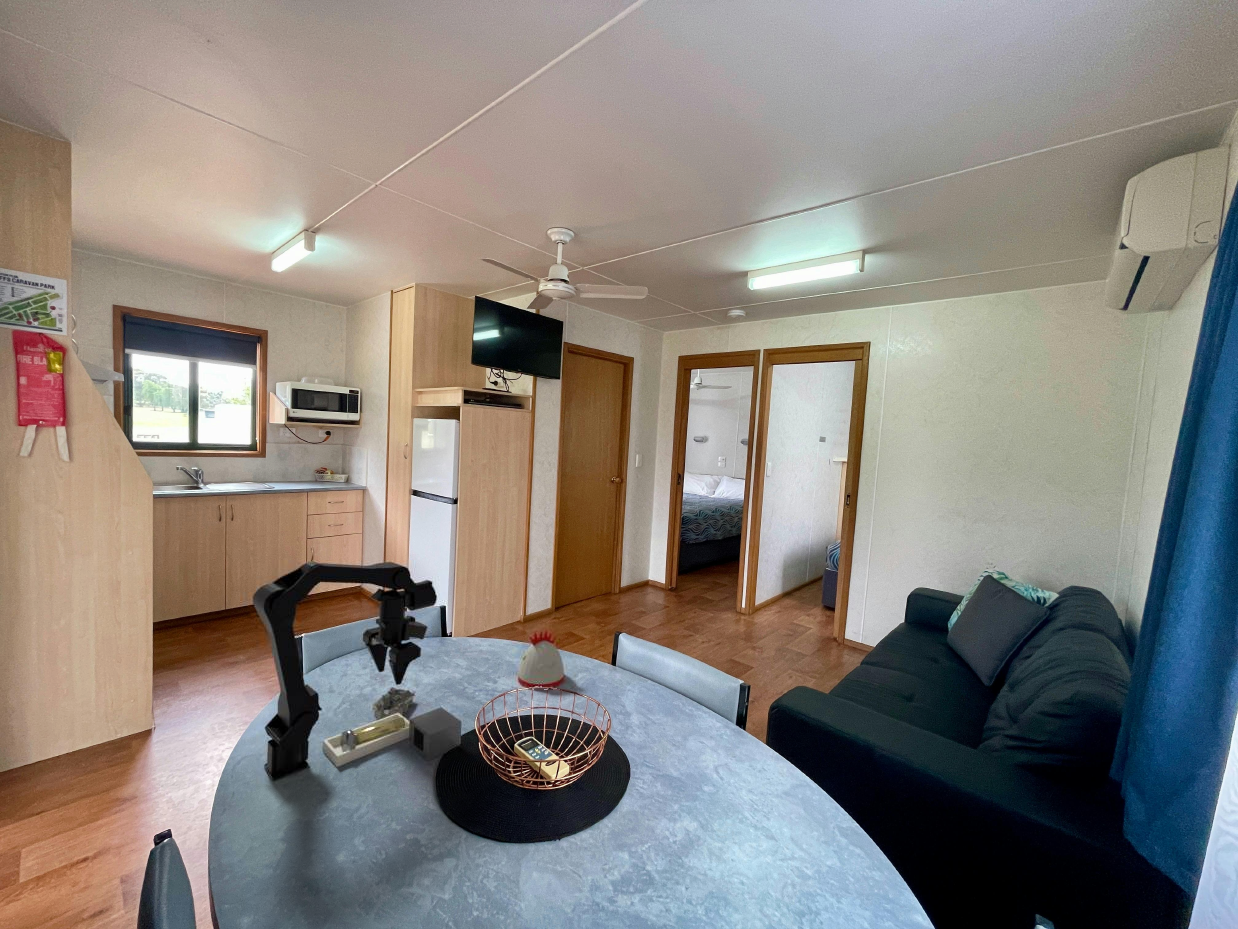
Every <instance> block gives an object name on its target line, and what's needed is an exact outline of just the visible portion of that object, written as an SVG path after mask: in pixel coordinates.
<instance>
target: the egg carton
mask: <svg viewBox="0 0 1238 929" xmlns="http://www.w3.org/2000/svg"><path fill="white" fill-rule="evenodd" d="M415 696H416V691H413V692H411V691H410V690H409V689H407V690H406V689H402V688H395V687H392V686H391V687H390V688H389V690H388V691H387V692H386V693H385V694H382V696H381V697H380V698H379V699H378V700H377V701H376V702H374V703H373V705H372V710H373V711H374V717H375V718H376V720H380V719H383V718H385V717H388V716H391V715H393V714H396V713H399V714H401V715H402V716H403V714H404V713H405V712H407V711H408V708H409V706H412V705H414V697H415ZM391 702H392V708H390V709H384V708H389V706H390V703H391Z"/></svg>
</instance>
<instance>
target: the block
mask: <svg viewBox="0 0 1238 929" xmlns="http://www.w3.org/2000/svg"><path fill="white" fill-rule="evenodd" d="M408 721H409V737H408V745H409V746H410V747H411V748H413V749H414V750H415V751H416V752H417V753H419V754H420V755H421V756H422V757H423V758H424V759H426V760H427V761H428V762H429V761H431V760H433V759H435V758H438V757H439V756H442V755H444V754H446V753H448V751H449V750H451V749H452V748H455V747H456V746H459V745H460V744H462V742H461V741H462V724H463V723H462V720H460V719H459V718H457V717H456V716H454V715H453V714H452V713H450V712H449V711H448V710H446V709H445V708H443V707H441V706H440V707H438V708H436V709H433V710H430V711H428V712H425V713H422V714H420V715H417V716H414V717H412V718H409V720H408ZM459 747H460V746H459ZM455 749H456V748H455ZM451 751H452V750H451ZM449 752H450V751H449Z"/></svg>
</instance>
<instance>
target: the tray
mask: <svg viewBox="0 0 1238 929" xmlns="http://www.w3.org/2000/svg"><path fill="white" fill-rule="evenodd" d="M401 717H402V718H404V720H405V728H404V729H401V730H399V731H396V732H394V733H391V734H389V735H386V736H384V737H381V738H378V739H375V740H372V741H369V742H367V743H364V744H361V745H358V746H356V747H355V748H353V749H351V750H348V751H346V752H343V751H342V748H341V735H342V733H339V734H337V735H334V736H332V737H329V738H326V739H323V740H322V752H324V754H325V755H326V756H327V758H329V760H330V761H331V762H332V763H333V764H334V765H335V766H336V767H337V768H339V767H340V766H342V765H345V764H347V763H351V762H352V761H355V760H357V759H360V758H362V757H365V756H367V755H369V754H371V753H375V752H377V751H380V750H381V749H384V748H386V747H389V746H391V745H393V744H397V743H398V742H400V741H403V740H405V739H409V721H410V720H408V719H407V718H406V717H405V716H403V714H402V715H401V714H399V713H396V714H393V715H391V716H388V717H385V718H383V719H380V720H378V719H376V720H375V721H371V722H370V723H366V724H364V725H361V726H358V727H356V728H352V729H351V730H352V731H353V732H354V733H355V732H358V731H361V730H364V729H367V728H371V727H374V726H377V725H380V724H383V723H386V722H389V721H392V720H395V719H398V718H401Z"/></svg>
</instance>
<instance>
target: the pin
mask: <svg viewBox="0 0 1238 929" xmlns="http://www.w3.org/2000/svg"><path fill="white" fill-rule="evenodd" d="M404 718H405V717H404ZM404 718H402V717H401V718H398V719H395V720H392V721H389V722H386V723H383V724H380V725H377V726H374V727H371V728H367V729H364V730H361V731H358V732H355V733H354V732H353V731H352V730H353V729H348V730H345V731H343V732H342V733H341V734H342V735H341V748H342V751H343V752H346V751H348V750H351V749H353V748H355V747H356V746H358V745H361V744H364V743H367V742H369V741H372V740H375V739H378V738H381V737H384V736H386V735H389V734H391V733H394V732H396V731H399V730H401V729H404V728H405V720H404Z"/></svg>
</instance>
